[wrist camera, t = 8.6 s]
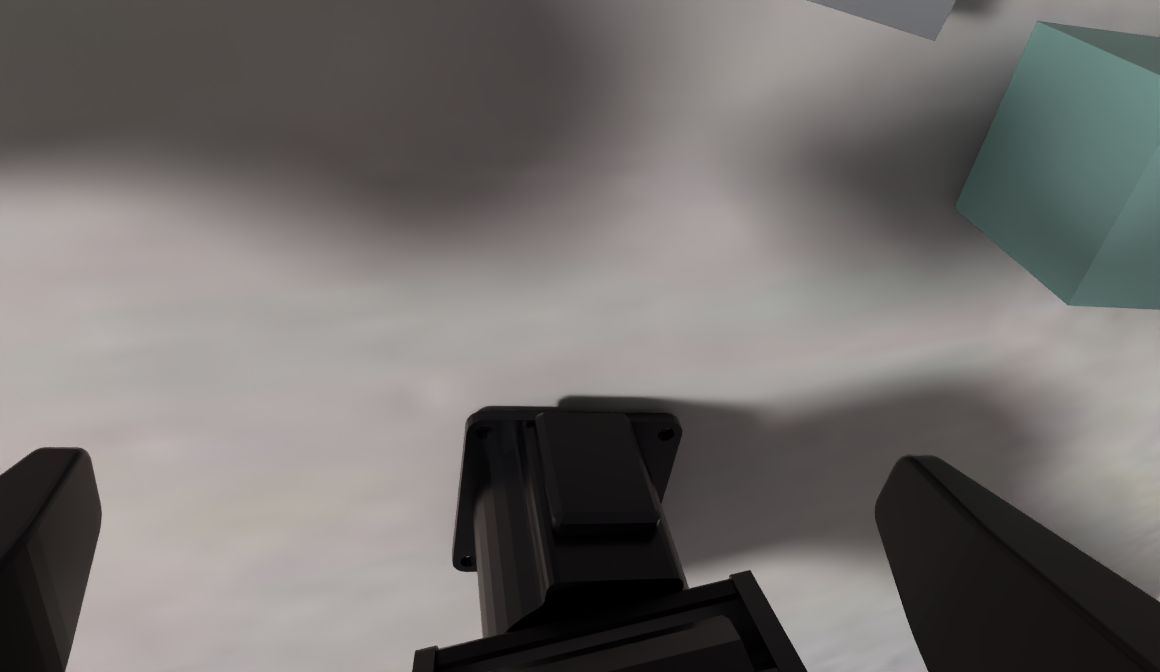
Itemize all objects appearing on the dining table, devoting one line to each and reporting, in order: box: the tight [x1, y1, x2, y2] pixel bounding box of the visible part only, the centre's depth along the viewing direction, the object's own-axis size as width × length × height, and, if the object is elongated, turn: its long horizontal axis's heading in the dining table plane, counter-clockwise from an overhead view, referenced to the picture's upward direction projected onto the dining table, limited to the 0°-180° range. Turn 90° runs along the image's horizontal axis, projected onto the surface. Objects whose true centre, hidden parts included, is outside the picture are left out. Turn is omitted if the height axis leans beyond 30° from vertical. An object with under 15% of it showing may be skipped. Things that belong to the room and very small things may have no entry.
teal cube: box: [954, 21, 1160, 310], centre depth 20 cm, size 5×5×5 cm
